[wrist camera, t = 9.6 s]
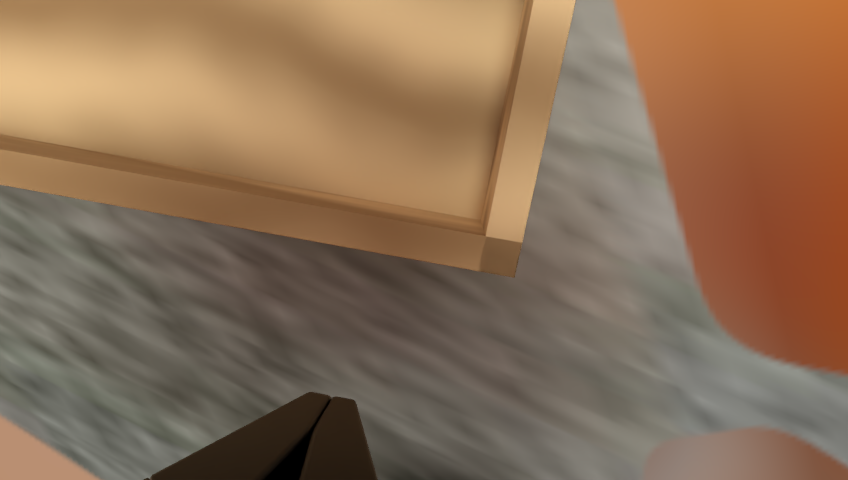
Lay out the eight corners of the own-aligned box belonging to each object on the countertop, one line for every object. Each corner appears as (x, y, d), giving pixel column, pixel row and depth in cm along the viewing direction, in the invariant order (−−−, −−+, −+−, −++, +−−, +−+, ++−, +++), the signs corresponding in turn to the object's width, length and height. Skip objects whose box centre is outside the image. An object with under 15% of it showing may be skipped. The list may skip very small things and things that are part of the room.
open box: (502, 249, 20) (514, 277, 16) (-15, 156, 21) (-125, 161, 17) (571, -74, 17) (605, -133, 14) (-25, -172, 18) (-159, -256, 14)
